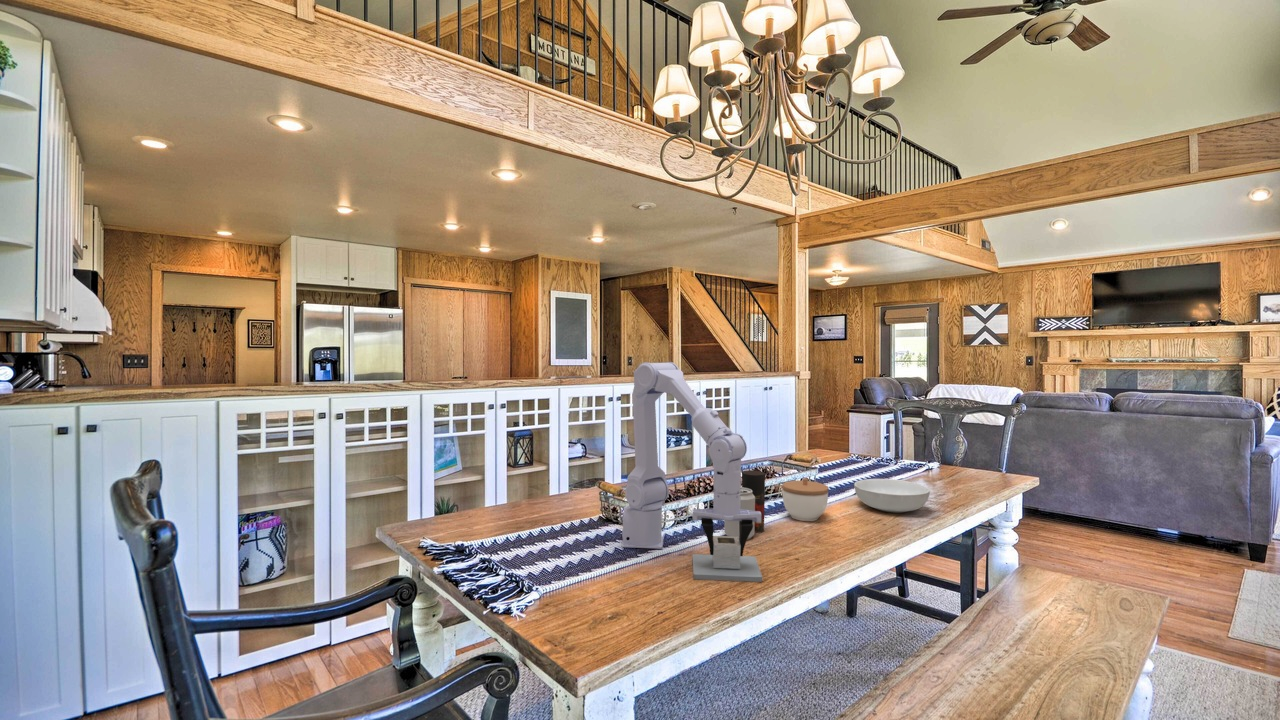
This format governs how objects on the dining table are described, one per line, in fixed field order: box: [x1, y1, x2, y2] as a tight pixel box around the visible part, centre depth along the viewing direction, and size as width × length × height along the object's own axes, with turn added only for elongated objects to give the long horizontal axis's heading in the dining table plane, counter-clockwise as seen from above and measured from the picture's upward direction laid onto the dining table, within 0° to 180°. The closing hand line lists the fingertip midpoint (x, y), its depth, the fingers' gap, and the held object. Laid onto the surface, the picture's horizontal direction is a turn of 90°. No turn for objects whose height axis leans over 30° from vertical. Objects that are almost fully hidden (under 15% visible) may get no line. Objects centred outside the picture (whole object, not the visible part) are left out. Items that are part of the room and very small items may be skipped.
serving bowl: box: [853, 478, 931, 514], centre depth 179 cm, size 21×21×7 cm
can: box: [723, 486, 755, 540], centre depth 151 cm, size 8×8×12 cm
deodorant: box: [741, 469, 766, 534], centre depth 157 cm, size 6×6×15 cm
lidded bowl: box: [781, 477, 830, 522], centre depth 168 cm, size 13×13×11 cm
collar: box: [712, 535, 741, 569], centre depth 129 cm, size 6×6×5 cm
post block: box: [692, 553, 763, 583], centre depth 128 cm, size 14×12×5 cm
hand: (725, 554), depth 128 cm, fingers closed on collar, 5 cm apart
